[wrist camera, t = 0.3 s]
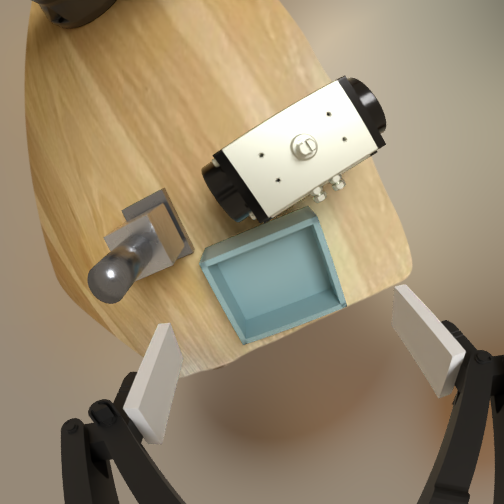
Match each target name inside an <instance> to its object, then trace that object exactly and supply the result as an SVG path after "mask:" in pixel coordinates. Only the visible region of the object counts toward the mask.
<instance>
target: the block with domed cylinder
mask: <svg viewBox="0 0 504 504" xmlns="http://www.w3.org/2000/svg"><path fill="white" fill-rule="evenodd" d="M104 240H105V242H106V243H107V245H108V247H109V249H110V251H111V252H110V253H109V254H107V255H106V256H105V257H104V258H103V259H102V260H101V261H99V262H98V263H97V264H96V265H95V266H94V267H93V268H92V269H91V270H90V271H89V274H88V285H89V288H90V290H91V292H92V293H93V295H94V296H95V297H96V298H97V299H99V300H100V301H102V302H105V303H109V304H113V303H117V302H119V301H120V300H121V299H122V298H123V296H124V295H125V294H126V292H127V291H128V290H129V288H130V287H131V286H132V284H133V283H134V282H135V281H137V280H139V279H142V278H144V277H146V276H149V275H151V274H153V273H156V272H158V271H160V270H163V269H165V268H167V267H170V266H172V265H173V264H174V263H175V261H176V259H177V258H178V256H179V254H180V253H181V251H182V249H183V248H184V246H185V245H184V243H183V241H182V239H181V237H180V235H179V233H178V231H177V229H176V227H175V225H174V223H173V221H172V219H171V217H170V215H169V213H168V211H167V209H166V207H165V205H164V203H162V204H160V205H158V206H156V207H154V208H152V209H150V210H148V211H146V212H144V213H142V214H140V215H138V216H136V217H134V218H132V219H130V220H128V221H126V222H125V223H123V224H122V225H120V226H119V227H117V228H116V229H115V230H113V231H112V232H110V233H109V234H108V235H106V236H105V237H104Z"/></svg>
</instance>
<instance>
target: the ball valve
mask: <svg viewBox="0 0 504 504" xmlns="http://www.w3.org/2000/svg"><path fill="white" fill-rule="evenodd" d="M385 129H386V119H385V115H384V112H383V110H382V107H381V105H380V104H379V102H378V100H377V99H376V97H375V96H374V94H373V93H372V92H371V91H370V90H369V88H368V87H367V86H366V85H365V84H363V83H362V82H361V81H359V80H357V79H355V78H348V79H347V78H346V76H343V77H341V78H339V79H337V80H335V81H333V82H331V83H329V84H327V85H326V86H324V87H322V88H320V89H318V90H316V91H315V92H313V93H311V94H309V95H308V96H306V97H304V98H302V99H300V100H299V101H297V102H295V103H294V104H292V105H290V106H288V107H287V108H285V109H283V110H282V111H280V112H278V113H277V114H275V115H274V116H272V117H270V118H269V119H267V120H265V121H264V122H262V123H261V124H259V125H257V126H256V127H254V128H253V129H251V130H250V131H248V132H247V133H245V134H244V135H242V136H240V137H239V138H237V139H236V140H234V141H233V142H231V143H230V144H228V145H227V146H226V147H224V148H223V149H221V150H220V151H218V152H217V153H215V154H214V155H213V157H214V159H212V162H210V163H209V164H207V165H206V166H204V167H203V168H202V170H201V171H202V175H203V178H204V180H205V182H206V184H207V186H208V188H209V189H210V191H211V193H212V194H213V196H214V197H215V199H216V200H217V201H218V203H219V204H220V206H221V207H222V208H223V209H224V211H225V212H226V213H227V214H228V215H229V216H230V217H231V218H232V219H233V220H234V221H236V222H241V221H242V220H244V219H245V218H247V217H248V216H250V217H251V218H252V219H253V220H255V219H256V218H257V220H258V221H259V223H262V222H264V223H266V222H267V221H269V220H270V219H272V218H273V217H275V216H277V215H278V214H280V213H281V212H283V211H284V210H286V209H288V208H289V207H291V206H292V205H294V204H295V203H297V202H299V201H300V200H302V199H303V198H305V197H306V196H308V195H312V196H314V198H313V200H314V201H315V202H316V203H318V202H321V201H323V200H324V199H325V198H326V197H327V194H326V192H325V191H323V192H321V191H322V190H323V187H322V186H324V185H325V184H327V183H331V184H333V185H332V188H333V189H334V190H335V191H337V190H340V189H342V188H343V187H344V186H345V185H346V184H345V181H344V179H343V180H341V178H342V176H341V174H343V173H345V172H346V171H348V170H349V169H351V168H353V167H354V166H356V165H358V164H359V163H361V162H362V161H364V160H366V159H367V158H369V157H370V156H372V155H374V154H375V153H377V150H378V149H380V148H381V147H383V146H384V145H386V143H385V141H384V140H383V138H382V136H381V133H383V132H384V131H385Z"/></svg>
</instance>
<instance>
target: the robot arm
mask: <svg viewBox="0 0 504 504" xmlns="http://www.w3.org/2000/svg"><path fill="white" fill-rule="evenodd" d="M32 1H34V2H36V3H38V4H39V5H40V7H41V9H42V10H43V12H44V13H45V15H46V17H47V18H48V19H49V20H50V21H51V22H52V23H54V24H56V25H58V26H60V27H62V28H75V27H79V26H82V25H84V24H87V23H89V22H91V21H92V20H94V19H96V18H97V17H99V16H100V15H101V14H103V13H104V12H105V11H106V10H107V9H108V8H110V7H111V6H112V4H113V3H114V2H115V1H116V0H32ZM392 326H393V328H394V329H395V331H396V332H397V334H398V335H399V337H400V338H401V340H402V341H403V343H404V344H405V346H406V347H407V349H408V350H409V352H410V353H411V355H412V356H413V358H414V360H415V361H416V363H417V364H418V366H419V367H420V369H421V371H422V372H423V374H424V375H425V377H426V378H427V380H428V382H429V383H430V385H431V387H432V388H433V390H434V392H435V393H436V395H437V397H438V398H441V397H444V396H446V395H449V394H451V392H452V390H453V387H454V385H455V386H456V388H457V389H458V391H457V394H456V396H455V399H454V401H453V409H452V413H451V416H450V419H449V423H448V426H447V429H446V433H445V436H444V439H443V442H442V444H441V447H440V450H439V453H438V456H437V459H436V461H435V463H434V466H433V469H432V471H431V473H430V476H429V478H428V481H427V483H426V485H425V487H424V490H423V492H422V494H421V496H420V498H419V500H418V502H417V504H468V502H469V499H470V494H469V493H468V490H469V487H470V484H471V480H472V477H473V474H474V471H475V467H476V464H477V460H478V456H479V452H480V448H481V444H482V440H483V435H484V430H485V425H486V420H487V414H488V408H489V401H490V400H491V407H492V418H493V429H494V446H495V485H494V486H495V487H494V503H493V504H504V355H500V356H492V355H491V354H490V353H488V352H487V351H484V350H477V349H476V348H475V347H474V346H473V345H472V344H471V343H470V341H469V340H468V339H467V338H466V337H465V336H463V333H462V332H461V331H459V329H458V328H457V327H456V326H455V325H454V324H453V323H451V322H449V321H447V320H445V321H442V322H440V321H439V320H438V319H437V317H436V316H435V315H434V314H433V313H432V312H431V311H430V310H429V309H428V308H427V307H426V305H424V303H423V302H422V301H421V300H420V299H419V298H418V297H417V296H416V295H415V294H414V293H413V292H412V291H411V289H410V288H409V287H407V285H405V284H404V285H400V286H395V287H394V301H393V314H392ZM183 359H184V358H183V356H182V353H181V351H180V348H179V345H178V343H177V340H176V337H175V334H174V332H173V329H172V326H171V323H163V324H158V326H157V328H156V330H155V333H154V335H153V337H152V339H151V342H150V344H149V346H148V349H147V351H146V353H145V356H144V358H143V360H142V363H141V365H140V368H139V370H138V372H130V373H129V374H128V375H127V376H126V377H125V378H124V380H123V382H122V385H121V387H120V389H119V393H117V396H116V398H115V400H114V403H112V402H111V401H110V400H106V399H102V400H99V401H96V402H95V403H93V404H92V405H91V407H90V408H89V411H88V414H89V416H90V418H91V419H92V420H93V422H94V423H90V424H83V422H82V421H81V420H80V419H77V418H74V419H70V420H68V421H66V422H65V423H64V424H63V426H62V428H61V461H62V478H63V490H64V500H65V504H119V501H118V496H117V493H116V488H115V484H114V479H113V475H112V470H111V465H110V459H113V460H114V462H115V464H116V465H117V468H118V469H119V471H120V473H121V475H122V476H123V478H124V480H125V481H126V484H127V485H128V487H129V489H130V490H131V492H132V494H133V495H134V496H135V498H136V500H137V501H138V503H139V504H186V503H185V502H184V501H183V499H182V498H181V497H180V496H179V495H178V493H177V492H176V491H175V490H174V488H173V487H172V486H171V485H170V483H169V482H168V481H167V479H166V478H165V477H164V475H163V474H162V473H161V471H160V470H159V469H158V467H157V466H156V464H155V463H154V461H153V460H152V459H151V457H150V456H149V454H148V453H147V451H146V450H145V448H144V447H143V445H142V444H141V442H142V438H144V439H145V441H146V442H147V443H148V444H162V442H163V438H164V434H165V430H166V426H167V421H168V417H169V413H170V409H171V405H172V401H173V397H174V393H175V389H176V385H177V382H178V378H179V374H180V370H181V366H182V363H183Z"/></svg>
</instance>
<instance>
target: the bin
mask: <svg viewBox="0 0 504 504" xmlns="http://www.w3.org/2000/svg"><path fill="white" fill-rule="evenodd" d="M199 265H200V267H201V269H202V271H203V273H204V275H205V276H206V278H207V280H208V282H209V284H210V286H211V288H212V290H213V291H214V293H215V295H216V297H217V299H218V301H219V303H220V304H221V306H222V308H223V310H224V312H225V314H226V315H227V317H228V319H229V321H230V323H231V324H232V326H233V328H234V330H235V331H236V333H237V335H238V337H239V339H240V340H241V342H242V344H243V345H245V344H248V343H251V342H254V341H257V340H259V339H262V338H265V337H268V336H271V335H274V334H277V333H279V332H282V331H285V330H288V329H290V328H293V327H296V326H299V325H301V324H304V323H307V322H309V321H312V320H314V319H317V318H319V317H322V316H325V315H327V314H330V313H332V312H335V311H337V310H339V309H342V308H344V307H347V304H346V301H345V298H344V294H343V291H342V288H341V285H340V282H339V278H338V275H337V272H336V269H335V266H334V263H333V260H332V257H331V254H330V251H329V248H328V245H327V242H326V240H325V237H324V234H323V231H322V228H321V225H320V223H319V220H318V217H317V215H316V214H315V213H314V212H313V211H312V210H311V209H310V208H309V206H307V207H304V208H302V209H299V210H297V211H294V212H292V213H289V214H287V215H284V216H282V217H279V218H277V219H274V220H272V221H270V222H267V223H265V224H262V225H260V226H257V227H255V228H252V229H250V230H248V231H245V232H243V233H240V234H238V235H235V236H233V237H231V238H228V239H226V240H223V241H221V242H219V243H216V244H214V245H212V246H209V247H207V248H205V250H204V252H203V255H202V257H201V260H200V262H199Z"/></svg>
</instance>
